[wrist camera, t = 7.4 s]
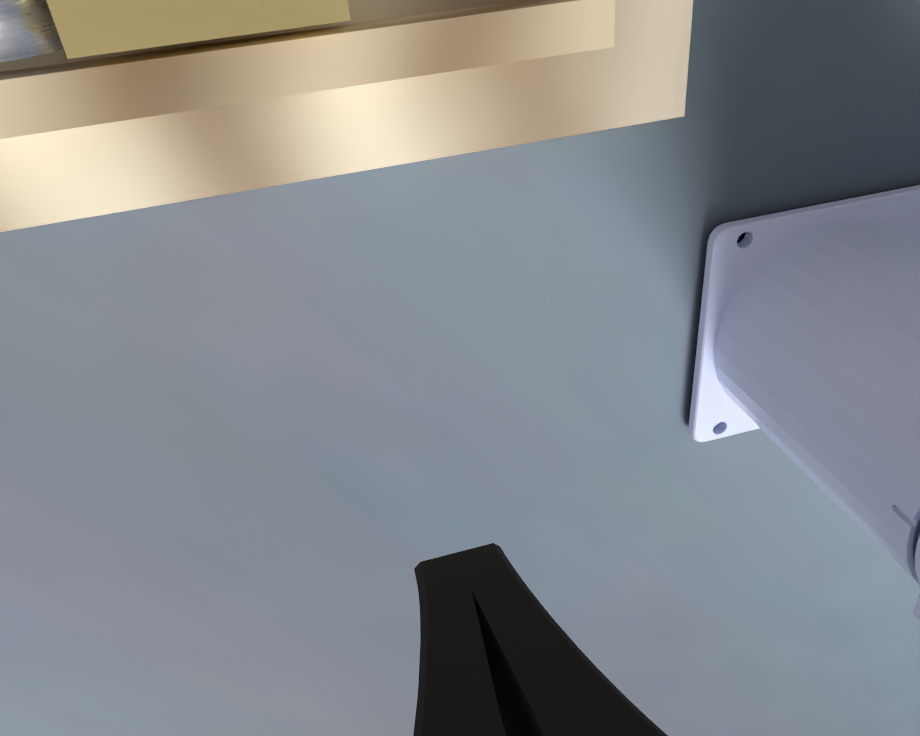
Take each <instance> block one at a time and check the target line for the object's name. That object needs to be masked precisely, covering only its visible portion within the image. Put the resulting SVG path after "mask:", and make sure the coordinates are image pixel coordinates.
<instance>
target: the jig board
mask: <svg viewBox="0 0 920 736" xmlns="http://www.w3.org/2000/svg"><path fill="white" fill-rule="evenodd" d="M348 6H349V12H350V18H351V21H344V22H336V23H329V24H322V25H314V26H307V27H300V28H292V29H285V30H277V31H270V32H263V33H255V34H248V35H241V36H233V37H226V38H218V39H211V40H204V41H196V42H189V43H181V44H174V45H167V46H159V47H152V48H145V49H137V50H130V51H122V52H115V53H108V54H100V55H93V56H86V57H78V58H71V59H68V58H67V56H66V53H65V50H64V48H62V49H59V50H56V51H53V52H50V53H46V54H42V55H38V56H33V57H29V58H24V59H19V60H14V61H8V62H3V63H0V232H4V231H9V230H15V229H21V228H27V227H33V226H39V225H45V224H51V223H57V222H63V221H69V220H75V219H80V218H86V217H92V216H98V215H104V214H110V213H116V212H122V211H128V210H134V209H140V208H145V207H151V206H157V205H163V204H169V203H175V202H181V201H187V200H193V199H199V198H205V197H211V196H216V195H222V194H228V193H234V192H240V191H246V190H252V189H258V188H264V187H270V186H276V185H281V184H287V183H293V182H299V181H305V180H311V179H317V178H323V177H329V176H335V175H341V174H347V173H352V172H358V171H364V170H370V169H376V168H382V167H388V166H394V165H400V164H406V163H412V162H417V161H423V160H429V159H435V158H441V157H447V156H453V155H459V154H465V153H471V152H477V151H483V150H488V149H494V148H500V147H506V146H512V145H518V144H524V143H530V142H536V141H542V140H548V139H553V138H559V137H565V136H571V135H577V134H583V133H589V132H595V131H601V130H607V129H613V128H619V127H624V126H630V125H636V124H642V123H648V122H654V121H660V120H666V119H672V118H678V117H684V116H685V103H686V89H687V76H688V63H689V50H690V37H691V24H692V10H693V0H348Z"/></svg>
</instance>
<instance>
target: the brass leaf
mask: <svg viewBox="0 0 920 736" xmlns="http://www.w3.org/2000/svg"><path fill="white" fill-rule="evenodd" d="M46 1H47V4H48V7H49V10H50V12H51V15H52V18H53V20H54V23H55V26H56V28H57V31H58V34H59V37H60V39H61V42H62V45H63V47H64V50H65V53H66V56H67V58H68V59H71V58H78V57H86V56H93V55H100V54H108V53H115V52H122V51H130V50H137V49H145V48H152V47H159V46H167V45H174V44H181V43H189V42H196V41H204V40H211V39H218V38H226V37H233V36H241V35H248V34H255V33H263V32H270V31H277V30H285V29H292V28H300V27H307V26H314V25H322V24H329V23H336V22H344V21H351V18H350V12H349V6H348V0H46Z"/></svg>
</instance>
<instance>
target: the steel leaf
mask: <svg viewBox="0 0 920 736" xmlns="http://www.w3.org/2000/svg"><path fill="white" fill-rule="evenodd" d="M62 48H64V47H63V45H62V42H61V39H60V37H59V34H58V31H57V28H56V26H55V23H54V20H53V18H52V15H51V12H50V10H49V7H48V4H47V1H46V0H0V63H3V62H8V61H14V60H19V59H24V58H29V57H33V56H38V55H42V54H46V53H50V52H53V51H56V50H59V49H62Z"/></svg>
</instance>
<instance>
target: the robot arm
mask: <svg viewBox="0 0 920 736" xmlns="http://www.w3.org/2000/svg"><path fill="white" fill-rule="evenodd" d="M744 232H745V233H746V234H745V237H744V239H743V240H742V241H741V242H739V243H737V240H738V237H739V236H740V235H741V234H742V233H744ZM718 423H719V424H718ZM716 424H718V425H717V426H715V425H716ZM714 426H715V427H714ZM758 428H761V429H762V430H763V431H764V432H765V433H766V434H767V435H768V436H769V437H770V438H771V439H772V440H773V441H774V442H775V443H776V444H777V445H778V446H779V447H780V448H781V449H782V450H783V451H784V452H785V453H786V454H787V455H788V456H789V457H790V458H791V459H792V460H793V461H794V462H795V463H796V464H797V465H798V466H799V467H800V468H801V469H802V470H803V471H804V472H805V473H807V474H808V475H809V476H810V477H811V478H812V479H813V480H814V481H815V482H816V483H817V484H818V485H819V486H820V487H821V488H822V489H823V490H824V491H825V492H826V493H827V494H828V495H829V496H830V497H831V498H832V499H833V500H834V501H835V502H836V503H837V504H838V505H839V506H840V507H841V508H842V509H843V510H844V511H845V512H846V513H847V514H848V515H849V516H850V517H851V518H852V519H853V520H854V521H855V522H856V523H857V524H858V525H859V526H860V527H861V528H862V529H864V530H865V531H866V532H867V533H868V534H869V535H870V536H871V537H872V538H873V539H874V540H875V541H876V542H877V543H878V544H879V545H880V546H881V547H882V548H883V549H884V550H885V551H886V552H887V553H888V554H889V555H890V556H891V557H892V558H893V559H894V560H895V561H896V562H897V563H898V564H899V565H900V566H901V567H902V568H903V569H904V570H905V571H906V572H907V573H908V574H909V575H910V576H911V577H912V578H913V579H914V580H915V581H916V582H917V583H918V584H919V585H920V185H916V186H911V187H906V188H901V189H896V190H891V191H886V192H881V193H876V194H870V195H865V196H860V197H855V198H850V199H845V200H840V201H835V202H830V203H825V204H819V205H814V206H809V207H804V208H799V209H794V210H789V211H784V212H779V213H774V214H769V215H763V216H758V217H753V218H748V219H743V220H738V221H733V222H728V223H724V224H721V225H719V226H718V227H716V228H715V229H714V230H713V231H712V233H711V234H710V236H709V239H708V244H707V254H706V263H705V273H704V283H703V292H702V302H701V312H700V322H699V331H698V341H697V351H696V360H695V370H694V380H693V389H692V399H691V409H690V419H689V428H688V429H689V433H690V435H691V436H692V437H693V438H694V439H695V440H696V441H698V442H706V441H710V440H714V439H718V438H722V437H726V436H730V435H734V434H738V433H742V432H746V431H750V430H754V429H758ZM414 570H415V575H416V580H417V585H418V591H419V601H420V622H421V646H420V667H419V687H418V699H417V709H416V718H415V727H414V736H667V735H666V734H665V733H664V732H663V731H662V730H661V729H660V728H658V727H657V726H656V725H655V724H654V723H653V722H652V721H651V720H650V719H648V718H647V717H646V716H645V715H644V714H643V713H642V712H641V711H640V710H639V709H638V708H637V707H636V706H635V705H634V704H633V703H632V702H631V701H630V700H628V699H627V698H626V697H625V696H624V695H623V694H622V693H621V692H620V691H619V690H618V689H617V688H616V687H615V686H614V685H613V684H612V683H611V682H610V681H609V680H608V679H607V678H606V677H605V675H604V674H603V673H602V672H601V671H600V670H599V669H598V668H597V667H596V666H595V665H594V664H593V663H592V662H591V661H590V660H589V659H588V658H587V657H586V656H585V654H584V653H583V652H582V651H581V650H580V649H579V648H578V647H577V646H576V644H575V643H574V642H573V641H572V640H571V639H570V638H569V637H568V635H567V634H566V633H565V632H564V631H563V630H562V629H561V627H560V626H559V625H558V624H557V623H556V622H555V621H554V619H553V618H552V617H551V616H550V615H549V613H548V612H547V611H546V610H545V609H544V607H543V606H542V605H541V604H540V602H539V601H538V600H537V598H536V597H535V596H534V595H533V593H532V592H531V591H530V590H529V588H528V587H527V586H526V584H525V583H524V582H523V580H522V579H521V578H520V576H519V575H518V573H517V572H516V571H515V569H514V568H513V566H512V565H511V563H510V562H509V560H508V559H507V557H506V556H505V554H504V553H503V551H502V549H501V548H500V547H499V546H498V545H496V544H494V543H492V544H488V545H484V546H480V547H477V548H473V549H469V550H465V551H461V552H457V553H453V554H450V555H446V556H442V557H438V558H434V559H430V560H426V561H422V562H420V563H419V564H418V565H417V566H416V567H415V569H414ZM913 615H914V616H915V617H916V618H917V619H918V620H919V621H920V595H919V599H918V601H917V603H916V605H915V607H914V609H913Z"/></svg>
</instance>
